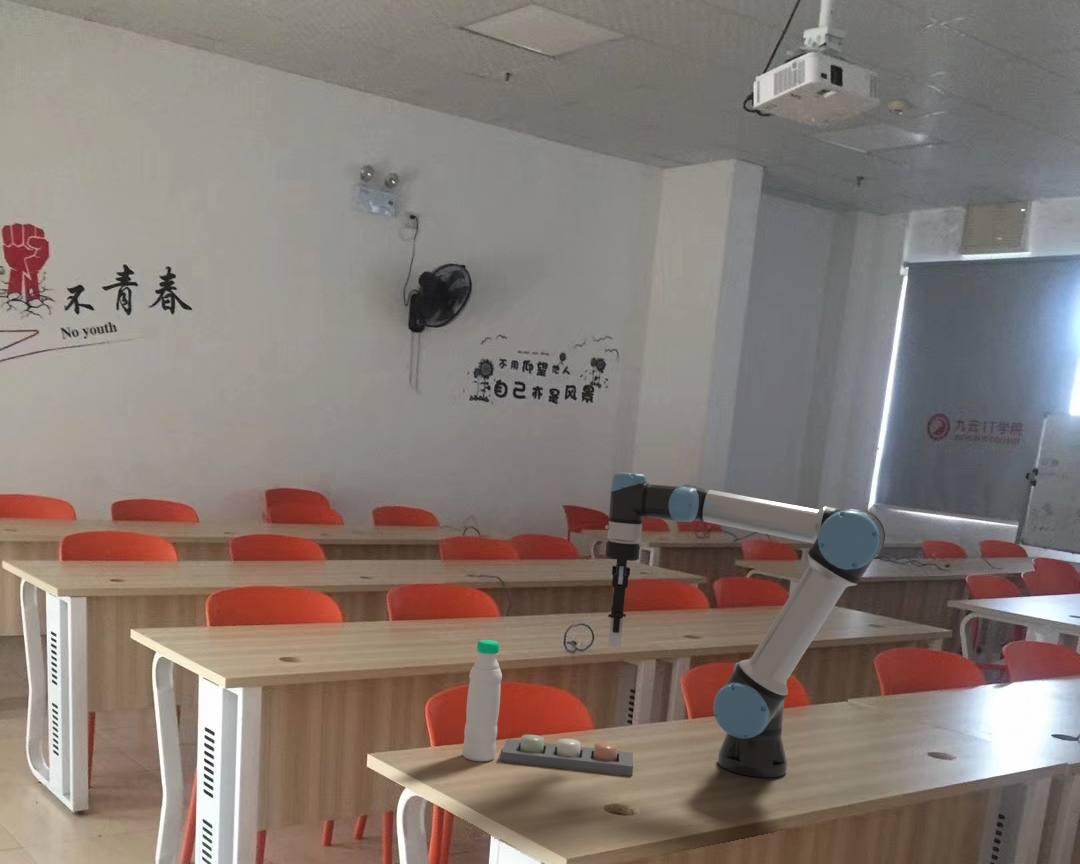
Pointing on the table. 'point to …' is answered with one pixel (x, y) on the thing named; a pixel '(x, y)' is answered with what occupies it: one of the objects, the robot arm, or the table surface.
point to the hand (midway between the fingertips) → (614, 646)
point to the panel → (568, 759)
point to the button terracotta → (605, 752)
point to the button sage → (532, 743)
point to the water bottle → (483, 704)
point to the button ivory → (568, 748)
